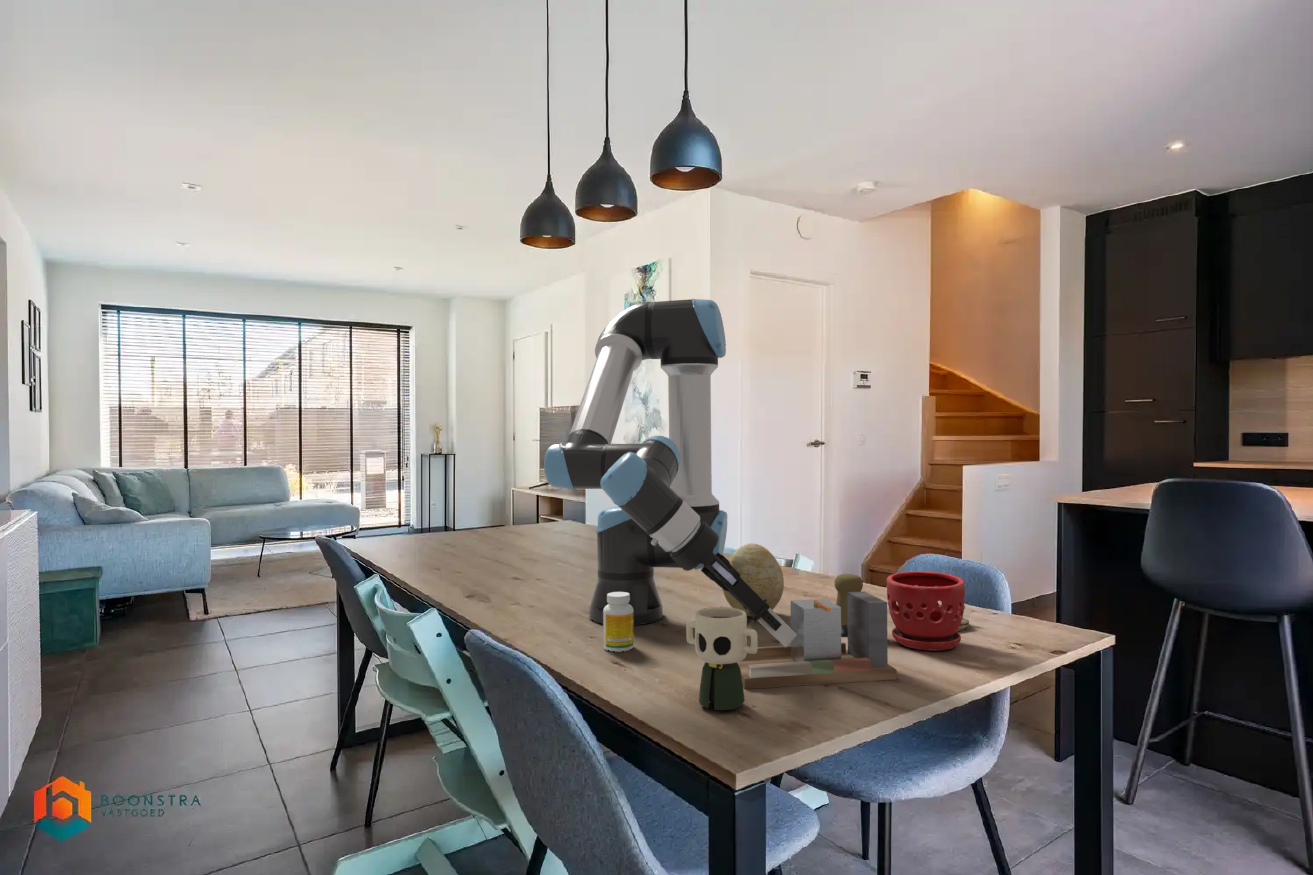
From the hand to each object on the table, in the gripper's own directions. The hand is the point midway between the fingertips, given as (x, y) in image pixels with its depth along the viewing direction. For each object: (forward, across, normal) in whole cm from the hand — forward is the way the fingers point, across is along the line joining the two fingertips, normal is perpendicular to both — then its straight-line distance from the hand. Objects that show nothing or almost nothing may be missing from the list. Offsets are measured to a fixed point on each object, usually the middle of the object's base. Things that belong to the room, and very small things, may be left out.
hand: (789, 639), depth 116 cm
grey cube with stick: (+6, +1, +1) cm, 6 cm away
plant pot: (+25, -11, +17) cm, 32 cm away
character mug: (-6, +11, -14) cm, 19 cm away
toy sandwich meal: (+31, -24, +22) cm, 45 cm away
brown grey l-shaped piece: (+6, 0, -2) cm, 6 cm away
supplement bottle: (-14, -19, -22) cm, 32 cm away
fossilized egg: (+8, -37, 0) cm, 38 cm away
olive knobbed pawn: (+17, -21, +10) cm, 29 cm away
